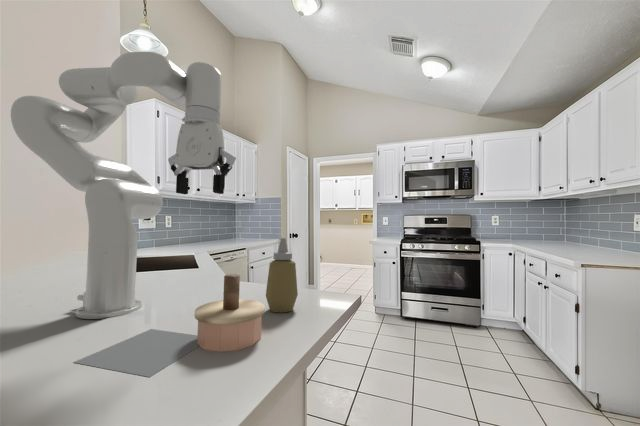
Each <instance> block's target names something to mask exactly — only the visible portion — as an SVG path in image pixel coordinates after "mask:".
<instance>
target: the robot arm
mask: <svg viewBox="0 0 640 426" xmlns="http://www.w3.org/2000/svg"><path fill="white" fill-rule="evenodd" d="M58 85H59V88H60V90H61V92H62V93H63V94H64V95H65V96H66V97H68V99H70V100H71V101H73V102H75V103H77V104H79V105H81V106H83V107H85V108H86V110H85V111H81V110H79V109H77V108H74V107H71V106H69V105H67V104H65V103H61V102H59V101H56V100H53V99H51V98H47V97H43V96H38V95H23V96H21V97H18V98H17V99H15V100H14V101H13V103H12V105H11V108H10V121H11V125H12V129H13V130H14V133H15V134H16V136H17V137H18V138H19V140H20V141H21V142H22V143H23V145H24V146H25V147H27V148H28V149H29V150H30V151H31V152H33V154H35V155H36V156H38V157H39V158H40V159H42V161H44V162H45V163H46V164H47V165H48V166H49V167H50V168H51V169H52V170H53V171H54V172H55V173H56V174H58V175H59V176H60V177H61V178H63V180H64V181H65V182H67V183H68V184H69V185H70V186H72V187H73V188H74V189H75V190H78V191H81V192H84V193H85V195H84V204H85V208H86V213H87V221H88V242H87V243H88V245H87V263H86V264H87V265H86V266H87V267H86V282H85V283H86V284H85V291H84V292H83V294H78V295H77V297H76V300H78V301H82V306H80V307H78V308H77V309H76V310H75V316H76V317H77V318H78V319H84V320H100V319H101V320H103V319H109V318H113V317H120V316H123V315H128V314H131V313H134V312H137V311H138V310H140V309H142V307H143V306H142V305H143V304H142V303H143V302H142V301H141V300H138V299H135V298H136V279H137V259H138V258H137V257H138V256H137V255H138V233H137V230H136V228H137V227H136V226H135V224H134V222H133V220H148V219H152V218H155V217H156V216H157V215H159V214H160V213H161V210H162V209H163V205H164V204H163V203H164V202H163V197H162V194H161V192H160V191H159V190H158V189H157V188H156V187H155V186H154V184H152V183H151V182H150V181H148V180H147V179H146V178H145V177H144V176H142V175H141V174H140V173H139V172H137V170H135V169H134V168H132V167H131V166H130V165H127V164H126V163H123V162H120V161H117V160H116V161H115V160H112V159H108V158H106V157H101V156H99V155H95V154H94V153H92V152H90V151H89V150H88V149H87V148H86V147H84V146H83V145H82V144H81V143H84V144H86V143H91V142H93V141H95V140H97V139H98V138H99V137H100V136H101V135H102V134H103V133H104V132H106V131H107V129H108V128H110V127H111V126H112V125H113V124H114V123H115V122H116V121H117V120H118V119H119V118H120V117H121V116H122V114H123V113H124V111H126V108H127V105H131V104H133V103H134V102H136V99H137V97H138V87H147V88H149V89H151V90H152V91H154V92H156V93H157V94H159V95H161V97H164V98H165V99H166V100H168V101H170V102H172V103H173V104H174V105H176V106H179V107H184V116H182V118H181V120H182V122H183V123H181V124H180V129H179V131H178V134H177V135H178V136H177V141H176V142H177V143H176V151H175V154H173V155H172V156H170V157H169V158H167V159H168V160H167V162H168V164H169V166H170V170H171V171H172V172H173V174H174V176H175V177H176V184H175V185H176V186H175V192H176V193H175V194H182V195H188V194H189V182H190V181H189V180H190V179H189V177H187V176H188V175H189V174H190V172H191V170H192V171H193V170H197V171H198V170H201V171H202V170H213V172H214V173H215V174H213V177H212V179H213V180H212V193H214V194H219V195H223V194H224V190H225V186H226V185H225V184H226V182H225V181H226V180H225V179H226V177H228V173H229V172H230V171H231V170H232V169H233V165H234V164H235V162H236V159H237V157H236V155H233V154H231V153H230V152H228V151H226V150H225V139H224V134H223V133H224V132H223V128H222V126H221V103H222V102H221V101H222V100H221V99H222V97H221V96H222V75H221V72H220V71H219V69H218V68H217V67H215V66H214V65H212V64H209V63H206V62H200V61H199V62H198V61H197V62H193V63H191V64H189V65H188V66H187V69H186V71H184V70H182V69H181V68H179V67H178V66H177V65H176V64H175V63H174V62H172V61H171V60H170V59H168V58H167V57H166V56H165V55H162V54H161V53H157V52H154V51H134V52H133V51H130V52H124V53H122V54H120V55H119V56H118V57H117V58H116V59H115V60H114V61H113V62H112V63H111V65H110V67H107V66H106V67H104V66H103V67H82V68H81V67H79V68H69V69H67V70H65V71H63V72H62V73H60V75H59V77H58Z"/></svg>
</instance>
